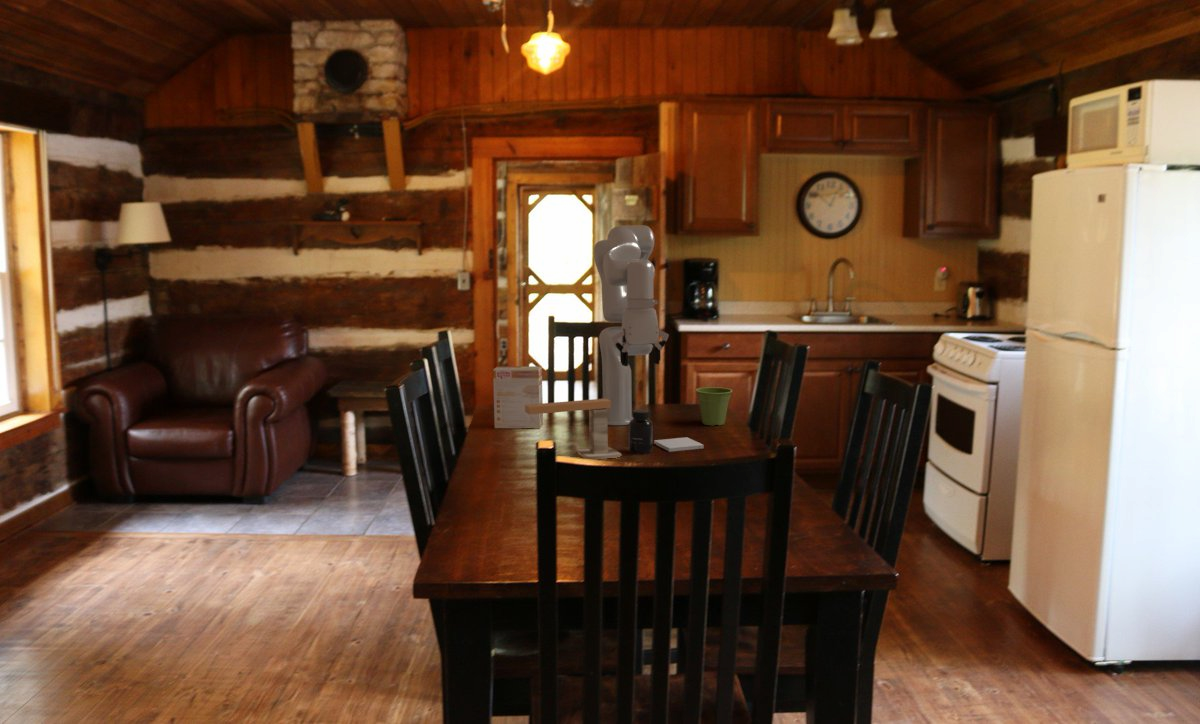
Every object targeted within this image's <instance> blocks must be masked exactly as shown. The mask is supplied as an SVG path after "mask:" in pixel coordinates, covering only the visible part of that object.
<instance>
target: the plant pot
mask: <svg viewBox="0 0 1200 724" xmlns="http://www.w3.org/2000/svg"><path fill="white" fill-rule="evenodd" d="M695 392H697V398H698V401H699V408H700V409H699V410H700V415H701V416H700V417H701V423H702V424H703V425H705V426H713V427H714V426H716V425H717V426H722V425H725V423H726V419H727V411H728V406H729V401H730V399H731V394H732V393H733V389H731V388H727V387H726V388H725V387H719V386H718V387H716V386H715V387H714V386H711V387H710V386H708V387H707V386H706V387H698V388H696V389H695Z"/></svg>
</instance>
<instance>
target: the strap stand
mask: <svg viewBox="0 0 1200 724" xmlns="http://www.w3.org/2000/svg"><path fill="white" fill-rule="evenodd" d="M588 412H589V413H588V414H589V416H588V417H589V418H588V420H589V421H588V424H589V427H588V428H589V429H588V431H589V447H588V448H587V447H586V448H579V449H578V448H577V449H575V450H576V451H578V452H580V453H581V454H582V455H584V456H583V457H585V458H594V459H602V460H601V461H605V460H608V459H607V458H616V459H618V458H617V457H620V456H623V455H622V453H621V452H619V451H618V450H616V449H614V448H612V447H611V446H608V445H609V444H608V443H609V441H608V440H609V439H608V433H609V432H608V430H609V429H608V426H609V425H607V409H606V408H603V409H591V410H588ZM576 451H575V452H576Z"/></svg>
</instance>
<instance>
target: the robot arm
mask: <svg viewBox="0 0 1200 724" xmlns="http://www.w3.org/2000/svg"><path fill="white" fill-rule="evenodd" d="M654 247H655V233H654V232H653V230H652V229H651V228H650V227H649V226H648V225H617V226H614V227H612V228H611V229H610V230H609V231H608V234H607V237H606V239H602V240H599V241H597V242H596V243H595V244H594V246H593V258H594V259H593V260H594V263H595V267H596V270H597V272H598V274H599V277H600V282H601V300H602V301H601V302H602V304H601V305H602V306H601V307H602V313H603V314H602V315H603V318H604V321H606V322H607V323H614V324H615V323H621V326H610V327H605V328H604V329H603V330H601V332H600V333H599V336H598V338H599V339H598V340H599V347H600V348H599V349H600V352H601V353H600V354H601V365H602V367H601V368H602V369H601V370H602V371H601V372H602V373H601V375H602V399H608V400H610V401H611V408H606V409H607V425H608V426H629V422H630V421H631V420H632V419H633V417H632V415H633V410H632V409H633V407H632V405H633V404H632V369H631V366H630V364H629V356H646V355H649V354H650V353H651V352H652V363H653V364H655V365H660V361H661V351H662V349H663V347H664V346H665V345H666V344H667V341H668V339H669V336H670V334H669V333H667V332H665V331H663V330H661V329H659V321H658V314H657V311H656V309H655V306H657V305H658V304H659V301H658V300H657V299H655V298H654V278H655V275H656V270H655V266H654V264H653V263H652V262H651V261H650V260H649V258H650V256H651V254H652V252H653V250H654ZM660 336H661V340H660V341H659V337H660Z"/></svg>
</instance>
